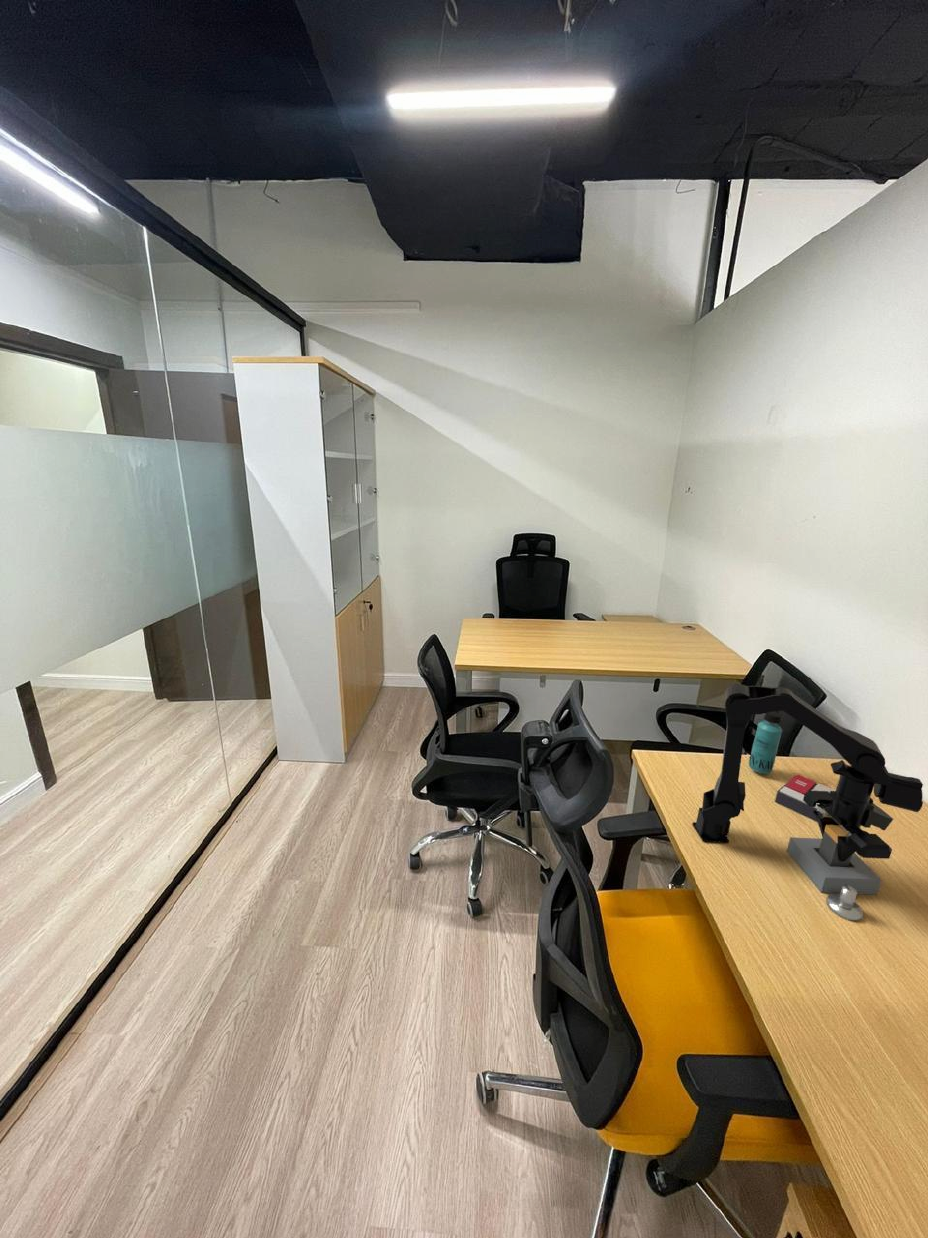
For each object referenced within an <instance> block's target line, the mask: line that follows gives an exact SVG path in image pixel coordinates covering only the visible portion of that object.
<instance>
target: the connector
mask: <svg viewBox="0 0 928 1238" xmlns="http://www.w3.org/2000/svg"><path fill="white" fill-rule="evenodd" d="M847 835H848V832H847V831H846V830H844V829H843V828H842V827H841V826H840V825H826V827H825V830H824V834H823V837H822V836H821V839H822V841H821V844H820V847H819V851H818V854H819V855H820V856H821V857H822V858H823V859H824V861H825V862H826V863H827V864H828V865H829V866H830V867H848V866H849V863H850V860H851V857H852V855H851V856H850V857H849V858H848V859H847V860H846V861H839V859H838V836H847Z"/></svg>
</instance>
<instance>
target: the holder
mask: <svg viewBox="0 0 928 1238" xmlns="http://www.w3.org/2000/svg"><path fill="white" fill-rule="evenodd" d="M821 841H822V838H820V837H819V838H818V837H817V838H814V837H793V836H792V837H791V836H790V837H789V841H788V845H787V849H786V853H788V855H789V856H790V857H791V859H793V861H794V862H795V863H796V864H797V866H798V867H799V868H800V869H801V870H802V871H803V873H804V874H805V875H806V876H807V877H808V879H809V880H810V881H811V883H812V884H813V885H814V886H815V887H816V888H817V890H818V891H819V892H820V893H826V894H827V893H828V894H840V893H841V890H842V887H843V885H849V886H851V887H853V888H855V889H856V891H857V895H878V893H879V890H880V887H881V884H882V881H883V879H882V878H881V877H880V876H879V875H877V873H876V872H875V871H874V870H873V869H872V868H871V867H870V866H869V865H868V864H867V863H865V862H864V860H863V859H862V858H860V857H859V855H858V854H857V853H856V852H855V853H853V854H852V857H851V860H850V863H849V866H848V867H830V866H829V865H828V864H827V863H826V862H825V861H824V859H823V858H822V857H821V856H820V855H819V854H818V851H819V847H820V844H821Z"/></svg>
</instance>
